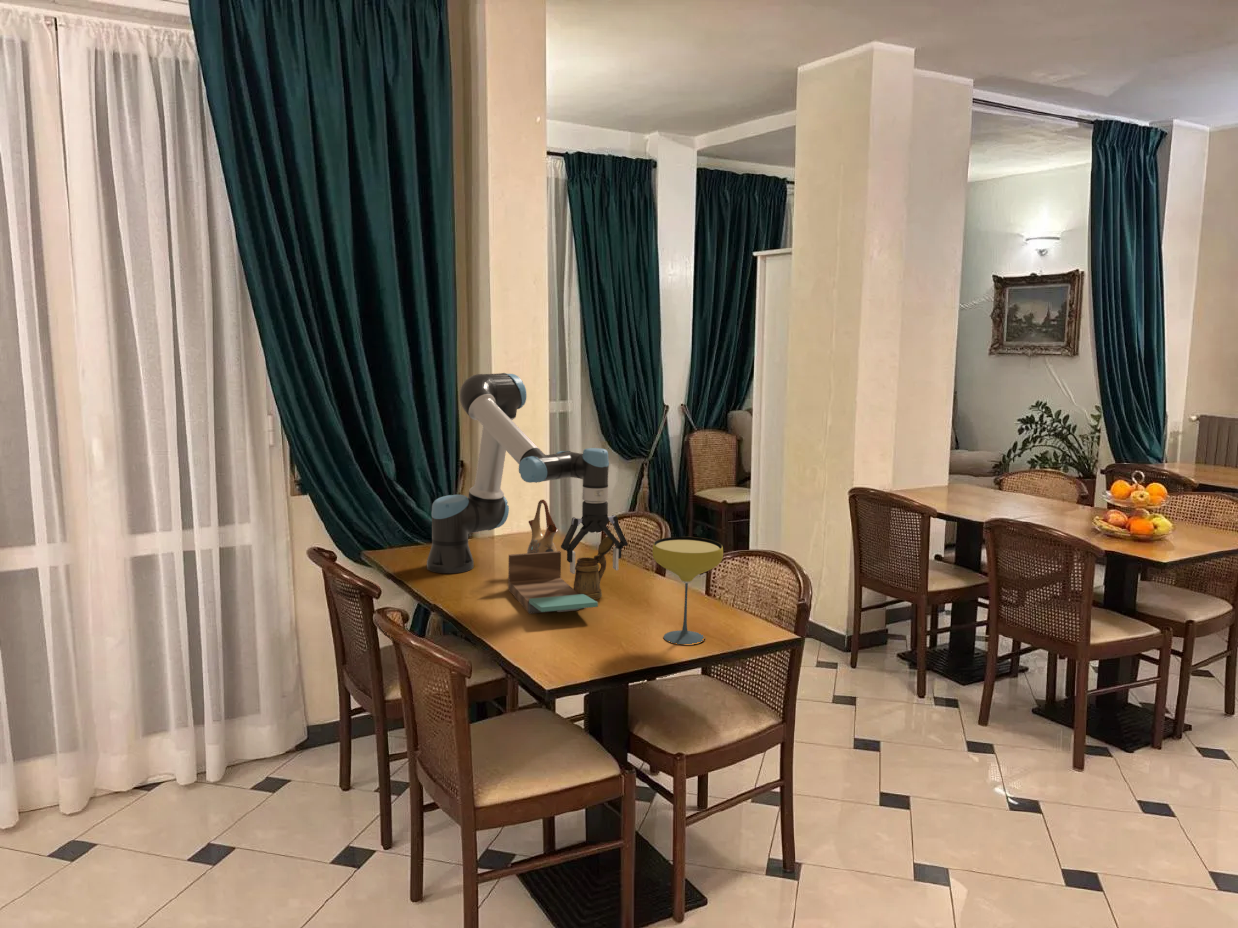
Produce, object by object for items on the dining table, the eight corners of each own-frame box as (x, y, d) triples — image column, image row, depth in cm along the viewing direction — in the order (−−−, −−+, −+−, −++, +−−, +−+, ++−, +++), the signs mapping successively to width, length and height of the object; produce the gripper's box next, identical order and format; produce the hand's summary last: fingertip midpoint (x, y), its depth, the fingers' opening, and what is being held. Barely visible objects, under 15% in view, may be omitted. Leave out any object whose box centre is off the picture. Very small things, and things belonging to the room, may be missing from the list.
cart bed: (508, 589, 274) (508, 554, 273) (558, 585, 280) (559, 551, 278) (529, 613, 252) (529, 575, 251) (583, 608, 258) (584, 571, 256)
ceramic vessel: (518, 571, 295) (518, 496, 291) (543, 568, 300) (544, 494, 296) (540, 584, 281) (541, 505, 277) (566, 580, 286) (567, 502, 282)
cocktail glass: (733, 638, 236) (737, 545, 232) (691, 656, 223) (694, 557, 219) (678, 622, 248) (681, 533, 244) (635, 638, 235) (638, 544, 231)
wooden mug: (620, 595, 271) (621, 537, 268) (580, 602, 264) (581, 541, 262) (605, 588, 279) (606, 531, 276) (566, 594, 272) (567, 535, 269)
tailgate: (529, 598, 252) (541, 607, 241) (583, 593, 258) (597, 602, 247) (529, 605, 252) (541, 614, 241) (583, 600, 258) (597, 609, 247)
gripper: (558, 505, 259) (557, 577, 262) (639, 501, 268) (637, 570, 271) (550, 500, 266) (550, 570, 269) (629, 496, 275) (628, 564, 278)
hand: (594, 571), depth 270 cm, fingers open, 13 cm apart
